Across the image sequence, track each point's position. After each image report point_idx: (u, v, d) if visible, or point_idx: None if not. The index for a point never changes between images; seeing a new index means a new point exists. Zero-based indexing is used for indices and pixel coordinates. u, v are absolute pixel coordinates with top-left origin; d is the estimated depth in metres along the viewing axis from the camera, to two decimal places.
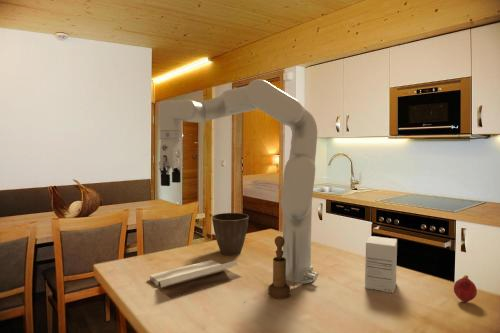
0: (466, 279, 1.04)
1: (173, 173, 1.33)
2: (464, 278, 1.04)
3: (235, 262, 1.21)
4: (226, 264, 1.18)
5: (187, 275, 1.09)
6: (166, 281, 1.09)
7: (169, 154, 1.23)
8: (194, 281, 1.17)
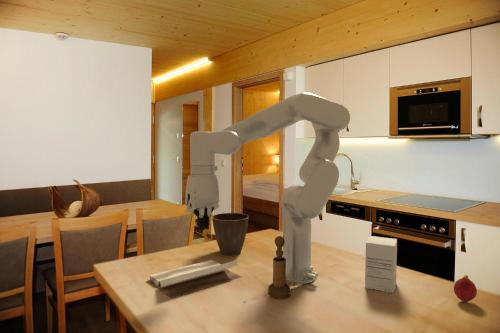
0: (466, 279, 1.04)
1: None
2: (464, 278, 1.04)
3: (235, 262, 1.21)
4: (226, 264, 1.18)
5: (187, 275, 1.09)
6: (166, 281, 1.09)
7: None
8: (194, 281, 1.17)
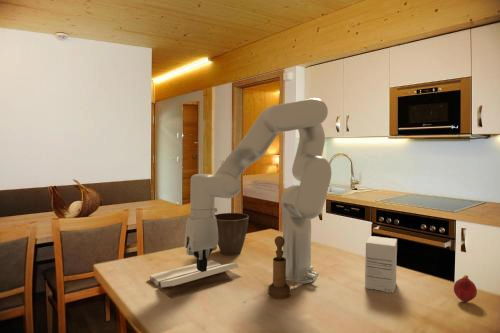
0: (466, 279, 1.04)
1: None
2: (464, 278, 1.04)
3: (236, 264, 1.20)
4: (227, 266, 1.18)
5: (188, 277, 1.09)
6: (166, 282, 1.08)
7: None
8: (194, 281, 1.17)
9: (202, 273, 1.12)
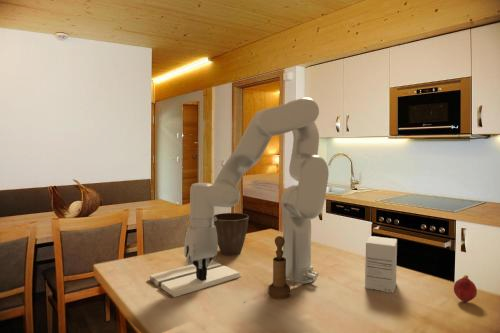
0: (466, 279, 1.04)
1: None
2: (464, 278, 1.04)
3: (237, 274, 1.20)
4: (229, 276, 1.18)
5: (189, 288, 1.08)
6: (168, 289, 1.08)
7: None
8: None
9: (204, 284, 1.12)
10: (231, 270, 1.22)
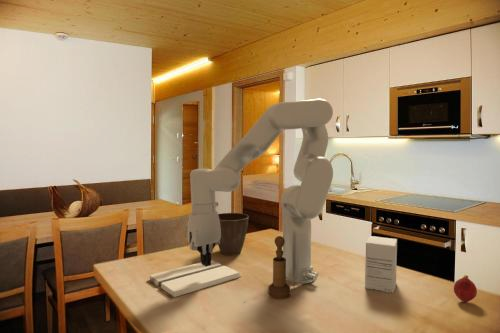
0: (466, 279, 1.04)
1: None
2: (464, 278, 1.04)
3: (237, 274, 1.20)
4: (229, 276, 1.18)
5: (189, 288, 1.08)
6: (168, 289, 1.08)
7: None
8: None
9: (204, 284, 1.12)
10: (231, 270, 1.22)
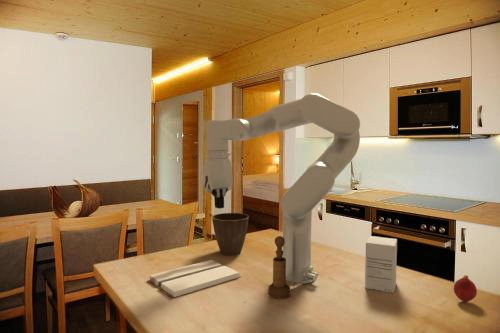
0: (466, 279, 1.04)
1: None
2: (464, 278, 1.04)
3: (237, 274, 1.20)
4: (229, 276, 1.18)
5: (189, 288, 1.08)
6: (168, 289, 1.08)
7: None
8: None
9: (204, 284, 1.12)
10: (231, 270, 1.22)
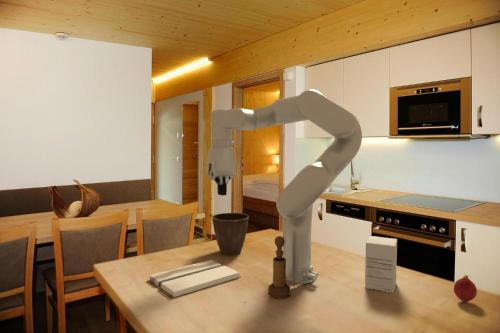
0: (466, 279, 1.03)
1: None
2: (464, 278, 1.04)
3: (237, 274, 1.20)
4: (229, 276, 1.18)
5: (189, 288, 1.08)
6: (168, 289, 1.08)
7: None
8: None
9: (204, 284, 1.12)
10: (231, 270, 1.22)
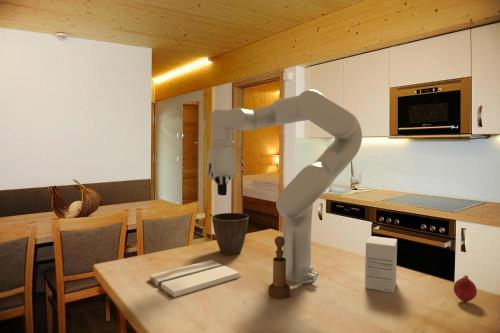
0: (466, 279, 1.04)
1: None
2: (464, 278, 1.04)
3: (237, 274, 1.20)
4: (229, 276, 1.18)
5: (189, 288, 1.08)
6: (168, 289, 1.08)
7: None
8: None
9: (204, 284, 1.12)
10: (231, 270, 1.22)
